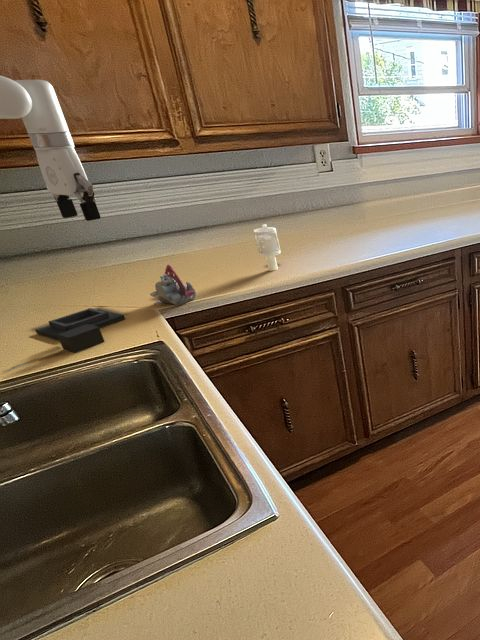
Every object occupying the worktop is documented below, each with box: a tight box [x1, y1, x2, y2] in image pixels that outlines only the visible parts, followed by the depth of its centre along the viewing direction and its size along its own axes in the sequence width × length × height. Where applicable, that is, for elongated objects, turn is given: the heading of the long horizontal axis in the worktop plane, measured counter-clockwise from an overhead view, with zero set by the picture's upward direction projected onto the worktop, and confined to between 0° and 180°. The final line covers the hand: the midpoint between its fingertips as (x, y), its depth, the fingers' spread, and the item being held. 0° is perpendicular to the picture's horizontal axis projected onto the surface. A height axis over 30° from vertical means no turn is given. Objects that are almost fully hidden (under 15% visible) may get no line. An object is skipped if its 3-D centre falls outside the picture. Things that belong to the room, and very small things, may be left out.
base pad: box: [34, 307, 126, 341], centre depth 138 cm, size 16×12×3 cm
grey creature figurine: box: [149, 264, 197, 306], centre depth 151 cm, size 11×11×12 cm
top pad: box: [57, 324, 105, 354], centre depth 126 cm, size 7×5×4 cm
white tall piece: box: [253, 223, 282, 272], centre depth 177 cm, size 7×7×15 cm
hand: (81, 218), depth 125 cm, fingers open, 9 cm apart
